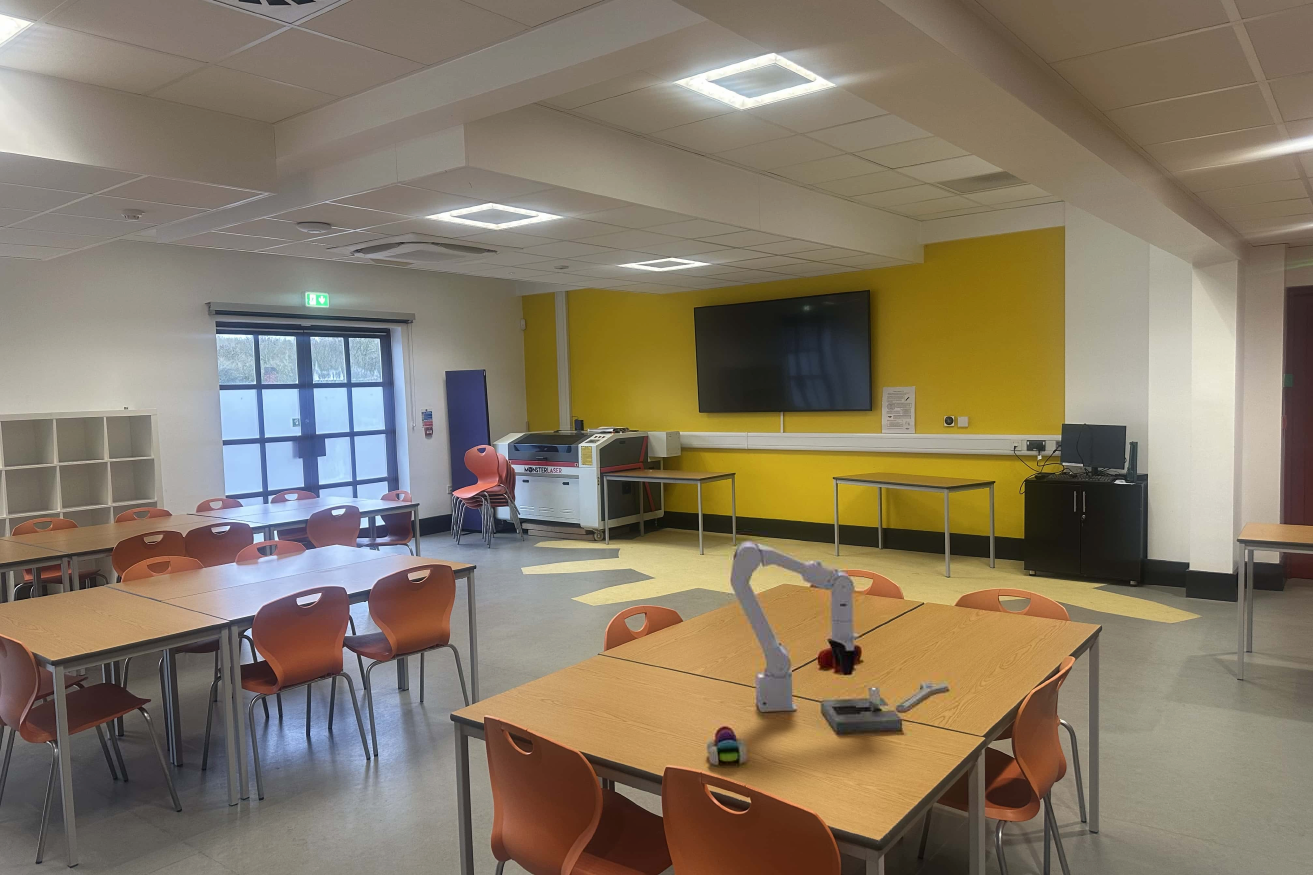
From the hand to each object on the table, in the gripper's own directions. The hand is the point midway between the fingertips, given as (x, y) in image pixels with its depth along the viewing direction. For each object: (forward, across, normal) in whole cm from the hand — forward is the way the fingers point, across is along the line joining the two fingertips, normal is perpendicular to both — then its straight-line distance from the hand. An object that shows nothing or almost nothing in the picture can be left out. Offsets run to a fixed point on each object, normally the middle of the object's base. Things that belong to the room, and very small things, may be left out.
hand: (843, 670), depth 226 cm
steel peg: (+9, -11, -5) cm, 15 cm away
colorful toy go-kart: (+10, -30, +35) cm, 47 cm away
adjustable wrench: (+10, +4, -21) cm, 23 cm away
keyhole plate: (+9, -11, -1) cm, 15 cm away
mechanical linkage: (+10, +36, -9) cm, 38 cm away
